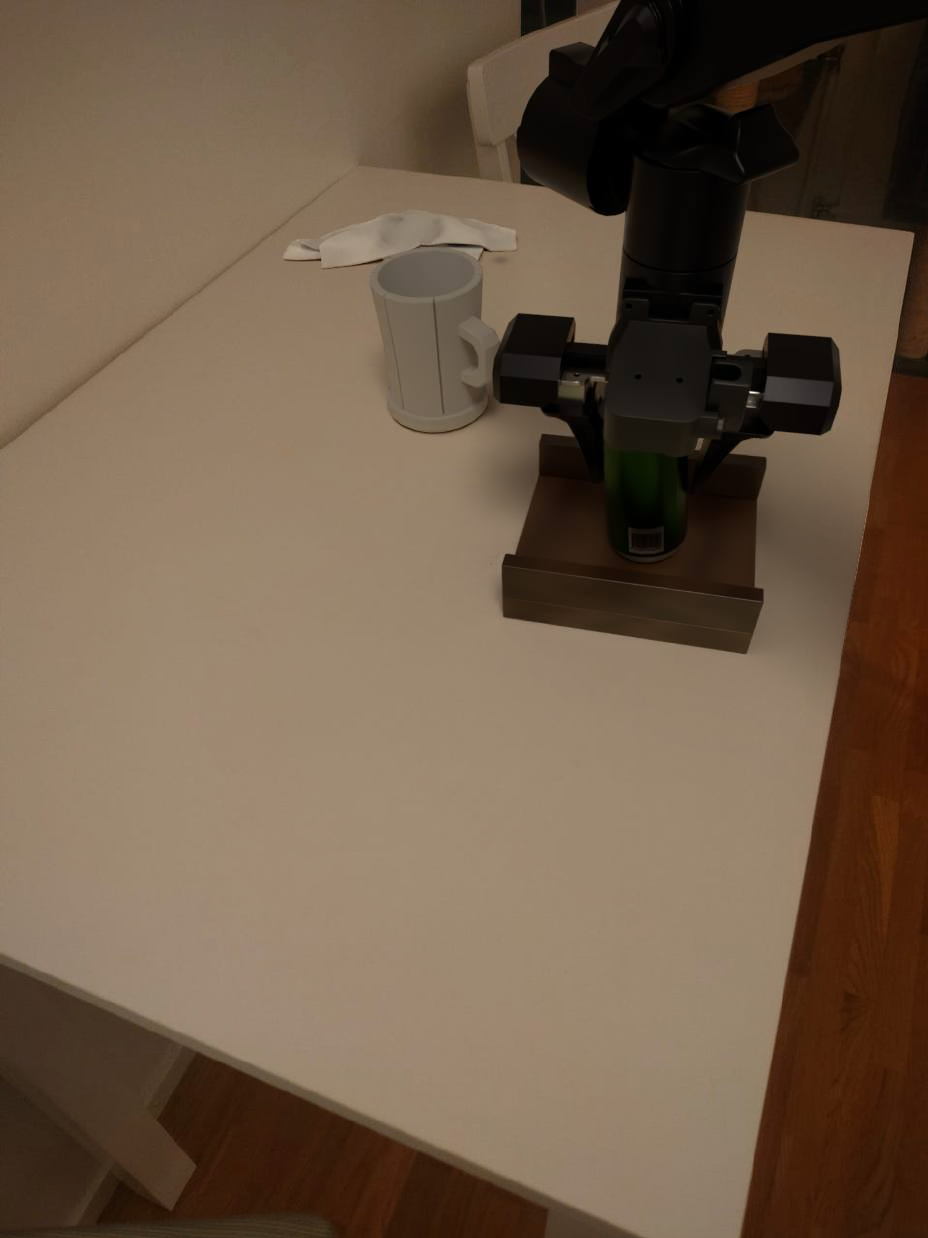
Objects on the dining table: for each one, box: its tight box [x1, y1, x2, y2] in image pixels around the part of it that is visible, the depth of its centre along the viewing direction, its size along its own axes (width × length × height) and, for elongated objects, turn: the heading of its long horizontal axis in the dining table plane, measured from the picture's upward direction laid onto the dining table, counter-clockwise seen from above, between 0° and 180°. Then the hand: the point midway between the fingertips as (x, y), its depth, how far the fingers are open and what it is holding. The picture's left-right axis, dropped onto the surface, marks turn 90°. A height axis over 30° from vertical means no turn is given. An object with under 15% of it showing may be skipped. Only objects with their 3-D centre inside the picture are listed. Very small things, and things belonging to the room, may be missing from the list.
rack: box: [500, 433, 768, 655], centre depth 57 cm, size 16×14×5 cm
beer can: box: [597, 382, 689, 562], centre depth 52 cm, size 5×5×12 cm
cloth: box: [282, 208, 518, 270], centre depth 92 cm, size 26×14×2 cm, turn 80°
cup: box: [368, 247, 501, 434], centre depth 67 cm, size 10×9×12 cm
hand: (645, 485), depth 53 cm, fingers closed on beer can, 6 cm apart
